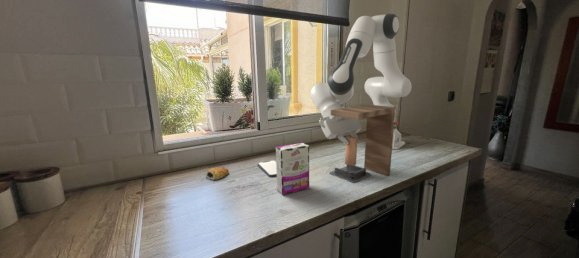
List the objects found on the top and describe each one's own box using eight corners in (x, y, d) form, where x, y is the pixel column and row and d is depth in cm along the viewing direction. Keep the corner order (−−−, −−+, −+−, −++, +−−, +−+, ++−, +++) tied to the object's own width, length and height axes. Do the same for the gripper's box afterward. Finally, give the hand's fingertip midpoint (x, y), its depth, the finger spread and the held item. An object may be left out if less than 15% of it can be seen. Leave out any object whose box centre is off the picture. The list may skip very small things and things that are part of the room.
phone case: (289, 175, 107) (274, 163, 122) (289, 171, 107) (274, 159, 121) (269, 179, 104) (256, 166, 118) (269, 175, 103) (256, 162, 117)
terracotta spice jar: (349, 161, 108) (350, 135, 106) (358, 163, 105) (359, 137, 103) (342, 163, 106) (343, 137, 103) (351, 166, 102) (352, 139, 100)
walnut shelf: (364, 167, 115) (368, 104, 109) (389, 174, 106) (395, 107, 100) (328, 181, 100) (330, 109, 94) (354, 192, 91) (358, 113, 85)
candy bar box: (302, 183, 98) (302, 142, 94) (309, 188, 93) (310, 145, 90) (275, 189, 93) (275, 146, 89) (282, 195, 88) (281, 149, 85)
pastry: (221, 170, 112) (221, 162, 111) (232, 174, 108) (232, 165, 108) (204, 178, 104) (203, 169, 103) (215, 182, 101) (214, 172, 100)
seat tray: (347, 167, 115) (347, 161, 114) (370, 175, 106) (371, 169, 105) (329, 173, 107) (329, 168, 107) (353, 183, 98) (353, 176, 98)
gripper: (321, 113, 100) (340, 143, 94) (353, 109, 112) (372, 134, 107) (313, 123, 104) (331, 152, 99) (345, 117, 117) (362, 142, 111)
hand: (352, 143), depth 103 cm, fingers closed on terracotta spice jar, 4 cm apart
